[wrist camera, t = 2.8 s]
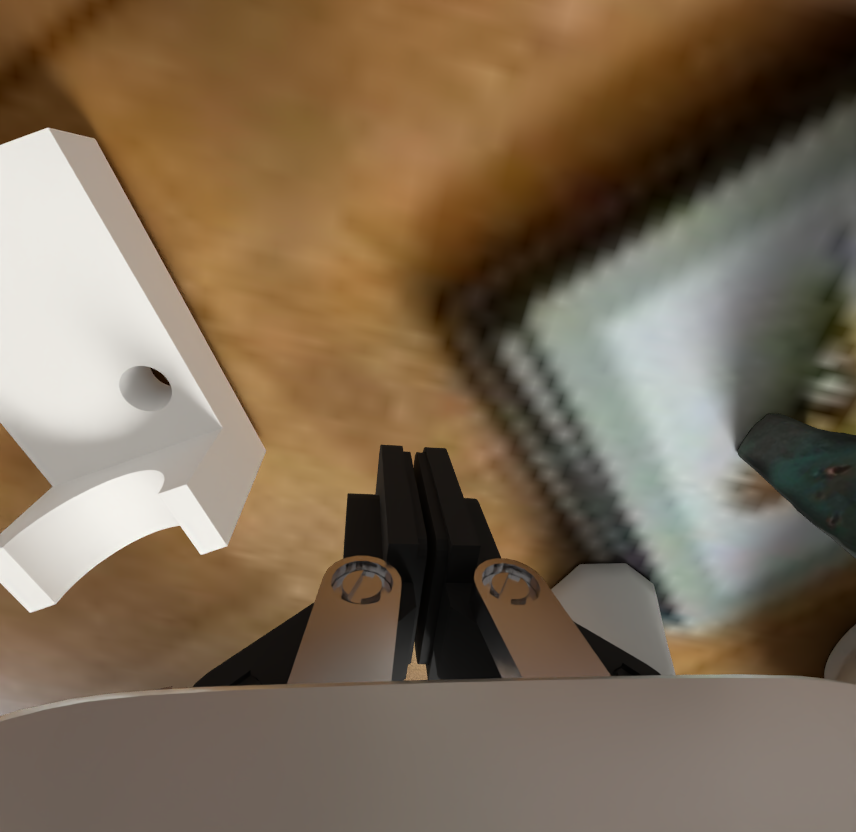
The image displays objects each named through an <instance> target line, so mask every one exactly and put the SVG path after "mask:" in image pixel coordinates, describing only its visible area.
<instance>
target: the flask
mask: <svg viewBox="0 0 856 832" xmlns="http://www.w3.org/2000/svg"><path fill="white" fill-rule="evenodd" d="M551 590H552V592H553V593H554V595H555V596H556V598H557V599H558V600H559V602H560V603H561V605H562V606H563V608H564V609H565V611H566V612H567V613H568V615H569V616H570V618H571V619H572V621H574V622H576V623H577V624H579V625H581V626H582V627H584V628H586V629H588V630H589V631H591V632H593V633H594V634H596V635H598V636H600V637H601V638H603V639H605V640H606V641H608V642H610V643H612V644H613V645H615V646H617V647H619V648H620V649H622V650H624V651H625V652H627V653H629V654H631V655H632V656H634V657H636V658H637V659H639V660H641V661H643V662H644V663H646V664H648V665H649V666H650V667H652V668H653V669H655V670H656V671H657V672H659V673H660V674H661V675H675V671H674V667H673V664H672V660H671V656H670V652H669V648H668V644H667V641H666V637H665V632H664V628H663V623H662V619H661V614H660V609H659V605H658V600H657V596H656V592H655V588H654V584H653V583H651V582H650V581H649V580H647V579H646V578H645V577H643V576H642V575H641V574H639V573H638V572H637V571H635V570H634V569H633V568H631V567H630V566H629V565H627V564H626V563H611V564H580V565H579V566H577V567H576V568H575V569H574V570H573V571H572V572H571V573H569V574H568V575H567V576H566V577H565V578H564V579H563V580H561V581H560V582H559V583H558V584H557V585H556V586H555V587H553V588H552V589H551Z"/></svg>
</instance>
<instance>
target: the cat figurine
mask: <svg viewBox="0 0 856 832" xmlns="http://www.w3.org/2000/svg"><path fill="white" fill-rule="evenodd" d="M738 455H739V456H740V457H741V458H742V459H743V460H744V461H745V462H747V463H748V464H749V465H750V466H751V467H752V468H754V469H755V470H756V471H757V472H758V473H759V474H760V475H761V476H762V477H763V478H764V479H765V480H766V481H767V482H768V483H770V484H771V485H772V486H773V487H774V488H775V489H776V490H777V491H778V492H779V493H780V494H781V495H782V496H783V497H784V498H786V499H787V500H788V501H789V502H790V503H791V504H792V505H793V506H794V507H795V508H796V509H797V511H798V512H800V513H801V514H802V515H803V516H804V517H806V518H807V519H808V520H809V521H810V522H812V523H813V524H814V525H815V526H817V527H818V528H819V529H821V530H822V531H823V532H825V533H826V534H827V535H829V536H830V537H831V538H833V539H834V540H835V541H836V542H837V543H838V544H839V545H840V546H842V547H843V548H844V549H845V550H846V551H847V552H848V553H850V554H851V555H852V556H853V557H854V558H856V435H851V434H846V433H837V432H830V431H826V430H821V429H817V428H814V427H812V426H809V425H807V424H804V423H802V422H800V421H797V420H795V419H793V418H790V417H788V416H785V415H781V414H768V415H766V416H765V417H764V419H762V420H760V421H759V422H757V423H756V424H755V425H754V427H753V428H752V429H751V430H750V432H749V433H748V435H747V436H746V438H745V439H744V441H743V442H742V444H741V446H740V448H739V449H738Z"/></svg>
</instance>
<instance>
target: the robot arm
mask: <svg viewBox="0 0 856 832" xmlns="http://www.w3.org/2000/svg"><path fill="white" fill-rule="evenodd" d="M414 641H415V650H416V658H417V663H418V664H426V669H427V676H428V680H410V681H403V680H404V679H405V678H406V673H407V667H408V664H410V663H411V659H412V652H413V646H414ZM0 832H856V684H852V683H847V682H842V681H837V680H832V679H825V678H815V677H806V676H789V675H745V674H725V675H661V674H660V673H659V672H657V671H656V670H655V669H653V668H652V667H650V666H649V665H648V664H646V663H644V662H643V661H641V660H639V659H637V658H636V657H634V656H632V655H631V654H629V653H627V652H625V651H624V650H622V649H620V648H619V647H617V646H615V645H613V644H612V643H610V642H608V641H606V640H605V639H603V638H601V637H600V636H598V635H596V634H594V633H593V632H591V631H589V630H588V629H586V628H584V627H582V626H581V625H579V624H577V623H576V622H574V621H572V619H571V618H570V616H569V615H568V613H567V612H566V611H565V609H564V608H563V606H562V605H561V603H560V602H559V600H558V599H557V598H556V596H555V595H554V593H553V592H552V590H551V589H550V588H549V586H548V585H547V583H546V582H545V580H544V579H543V578H542V577H541V576H540V575H539V574H538V573H537V572H536V571H535V570H533V569H532V568H530V567H529V566H527V565H525V564H523V563H521V562H518V561H515V560H510V559H501V556H500V554H499V551H498V549H497V547H496V544H495V542H494V539H493V537H492V534H491V532H490V529H489V527H488V524H487V522H486V519H485V517H484V514H483V512H482V509H481V507H480V504H479V502H478V501H477V499H470V498H464V497H463V494H462V492H461V489H460V486H459V483H458V480H457V477H456V475H455V472H454V469H453V466H452V463H451V461H450V458H449V455H448V452H447V450H446V449H445V448H428V447H425V448H424V450H423V453H419V452H416V455H415V460H414V468H413V463H412V458H411V453H410V452H403V447H402V446H394V445H381V446H380V453H379V463H378V474H377V484H376V495H373V494H348V497H347V511H346V526H345V540H344V555H343V559H342V560H340V561H337V562H335V563H334V564H333V565H332V566H331V567H329V568H328V569H327V571H326V573H325V575H324V576H323V579H322V582H321V585H320V588H319V591H318V594H317V597H316V600H315V602H314V603H313V604H311V605H310V606H308V607H307V608H305V609H304V610H302V611H301V612H299V613H298V614H296V615H295V616H293V617H291V618H290V619H288V620H287V621H285V622H284V623H282V624H281V625H279V626H278V627H276V628H275V629H273V630H272V631H270V632H269V633H267V634H266V635H264V636H263V637H261V638H260V639H258V640H257V641H255V642H254V643H252V644H251V645H249V646H248V647H246V648H245V649H243V650H242V651H240V652H239V653H237V654H236V655H234V656H233V657H231V658H230V659H228V660H227V661H225V662H224V663H222V664H221V665H219V666H217V667H216V668H214V669H213V670H211V671H210V672H209V673H207V674H206V675H205V676H204V677H203V678H201V679H200V680H199V681H198V682H197V683H196V684H195V685H194V686H193V688H178V689H172V686H171V687H166V688H162V689H157V690H147V691H132V692H117V693H109V694H102V695H95V696H88V697H81V698H74V699H68V700H63V701H59V702H54V703H50V704H45V705H40V706H36V707H31V708H27V709H22V710H18V711H15V712H12V713H9V714H6V715H3V716H0Z"/></svg>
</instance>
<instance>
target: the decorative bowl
mask: <svg viewBox="0 0 856 832" xmlns="http://www.w3.org/2000/svg"><path fill="white" fill-rule="evenodd" d="M824 678H825V679H832V680H837V681H842V682H847V683H852V684H856V624H855V625H854V626H853V627H852V628H851V629H850V630H849V631H848V632H847V633H846V634H845V635H844V636H843V637H842V638H841V639H840V641H839V642H838V643H837V645H836V646H835V647H834V649H833V651H832V652H831V654H830V656H829V658H828V661H827V663H826V666H825V671H824Z"/></svg>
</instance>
